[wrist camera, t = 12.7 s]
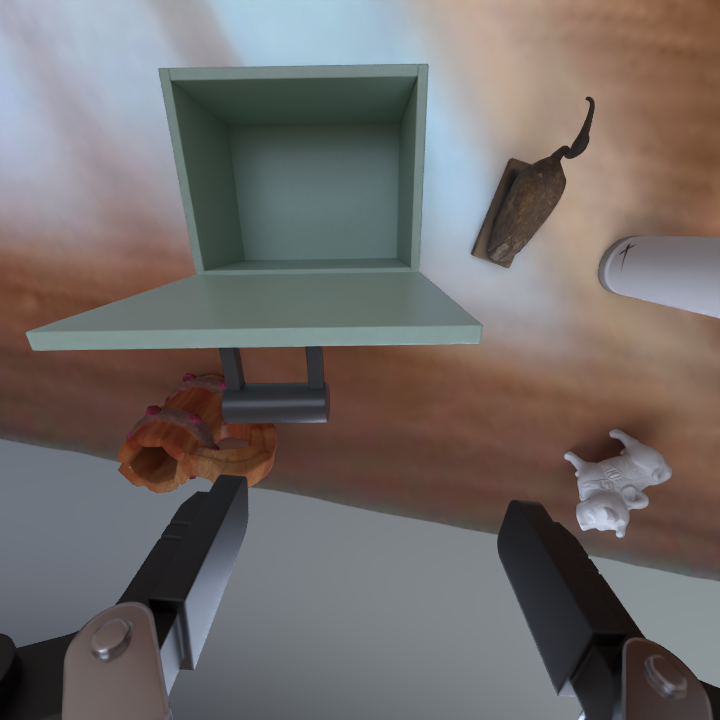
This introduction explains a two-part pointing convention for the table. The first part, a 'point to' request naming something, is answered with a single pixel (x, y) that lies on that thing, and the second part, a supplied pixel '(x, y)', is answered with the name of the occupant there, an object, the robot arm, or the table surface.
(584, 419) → the table surface
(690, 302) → the travel mug
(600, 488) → the dog figurine
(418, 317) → the lid
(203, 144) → the chest
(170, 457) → the mug
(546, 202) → the figurine
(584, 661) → the robot arm
